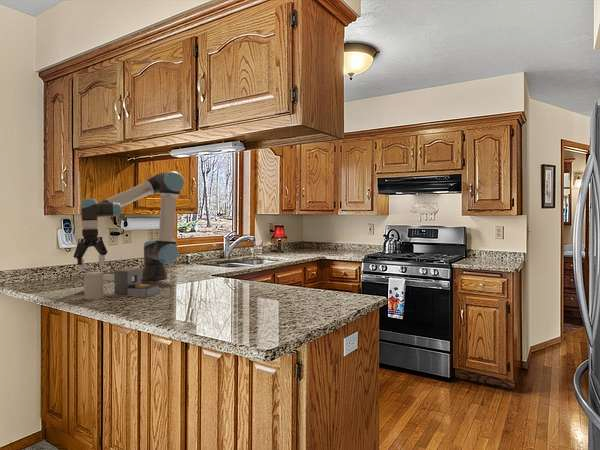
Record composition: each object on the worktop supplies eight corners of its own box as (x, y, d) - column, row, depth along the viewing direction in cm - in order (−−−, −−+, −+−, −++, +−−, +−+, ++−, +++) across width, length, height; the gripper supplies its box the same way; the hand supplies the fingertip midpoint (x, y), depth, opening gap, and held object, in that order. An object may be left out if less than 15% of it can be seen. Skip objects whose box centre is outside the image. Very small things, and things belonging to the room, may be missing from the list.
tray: (141, 291, 218) (141, 285, 218) (159, 293, 214) (159, 286, 214) (127, 295, 208) (127, 288, 208) (146, 297, 205) (146, 289, 205)
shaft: (90, 287, 224) (90, 270, 224) (136, 290, 215) (135, 273, 215) (84, 289, 220) (84, 271, 220) (130, 292, 211) (130, 274, 211)
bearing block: (128, 290, 220) (128, 267, 220) (141, 291, 218) (141, 268, 217) (114, 294, 211) (114, 270, 210) (127, 295, 208) (127, 271, 208)
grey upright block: (102, 298, 201) (102, 273, 201) (83, 300, 198) (83, 274, 198) (103, 295, 209) (103, 271, 208) (85, 296, 206) (85, 272, 205)
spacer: (141, 284, 215) (148, 284, 214) (141, 291, 215) (148, 292, 214) (135, 285, 210) (141, 286, 209) (135, 293, 210) (142, 294, 209)
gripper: (102, 227, 234) (104, 265, 235) (64, 230, 210) (66, 272, 211) (113, 227, 231) (115, 265, 232) (76, 230, 208) (78, 273, 209)
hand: (91, 269), depth 222 cm, fingers open, 13 cm apart
